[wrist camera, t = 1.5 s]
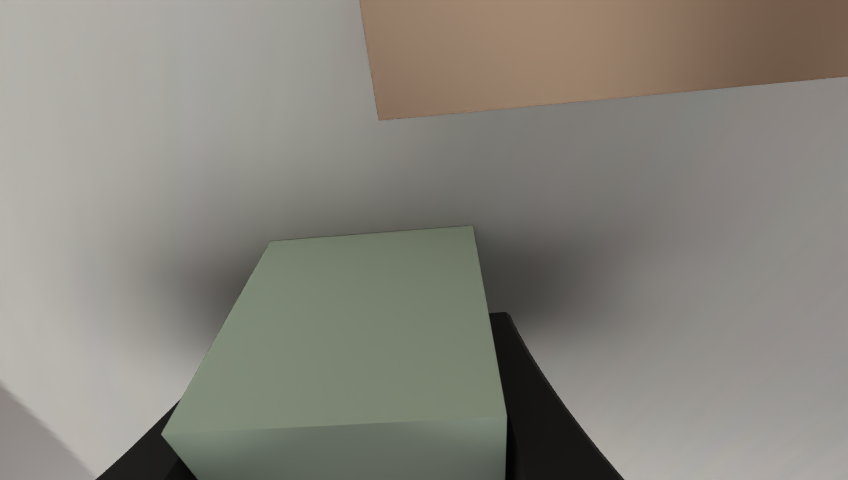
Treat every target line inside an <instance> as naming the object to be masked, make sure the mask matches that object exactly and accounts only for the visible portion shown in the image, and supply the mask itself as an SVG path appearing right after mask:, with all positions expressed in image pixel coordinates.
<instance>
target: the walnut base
mask: <svg viewBox="0 0 848 480" xmlns="http://www.w3.org/2000/svg"><path fill="white" fill-rule="evenodd" d="M360 7H361V13H362V19H363V26H364V32H365V38H366V44H367V51H368V57H369V63H370V70H371V76H372V82H373V88H374V95H375V101H376V107H377V114H378V120H390V119H401V118H411V117H422V116H432V115H443V114H454V113H464V112H475V111H485V110H496V109H507V108H517V107H528V106H539V105H549V104H560V103H570V102H581V101H592V100H602V99H613V98H623V97H634V96H645V95H655V94H666V93H676V92H687V91H698V90H708V89H719V88H729V87H740V86H751V85H761V84H772V83H783V82H793V81H804V80H814V79H825V78H836V77H846V76H848V0H360Z"/></svg>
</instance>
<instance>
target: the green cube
mask: <svg viewBox="0 0 848 480" xmlns="http://www.w3.org/2000/svg"><path fill="white" fill-rule="evenodd" d="M506 433H507V414H506V408H505V402H504V397H503V391H502V386H501V380H500V375H499V369H498V363H497V358H496V352H495V347H494V341H493V336H492V330H491V324H490V319H489V313H488V308H487V302H486V297H485V291H484V285H483V280H482V274H481V269H480V263H479V258H478V252H477V246H476V241H475V235H474V230H473V225H471V226H458V227H445V228H433V229H420V230H407V231H394V232H382V233H369V234H356V235H343V236H331V237H318V238H305V239H292V240H280V241H270V243H269V244H268V246H267V248H266V250H265V251H264V253H263V255H262V257H261V259H260V260H259V262H258V264H257V266H256V267H255V269H254V271H253V273H252V274H251V276H250V278H249V280H248V282H247V283H246V285H245V287H244V289H243V290H242V292H241V294H240V296H239V297H238V299H237V301H236V303H235V304H234V306H233V308H232V310H231V312H230V313H229V315H228V317H227V319H226V320H225V322H224V324H223V326H222V327H221V329H220V331H219V333H218V335H217V336H216V338H215V340H214V342H213V343H212V345H211V347H210V349H209V350H208V352H207V354H206V356H205V357H204V359H203V361H202V363H201V365H200V366H199V368H198V370H197V372H196V373H195V375H194V377H193V379H192V380H191V382H190V384H189V386H188V388H187V389H186V391H185V393H184V395H183V396H182V398H181V400H180V402H179V403H178V405H177V407H176V409H175V410H174V412H173V414H172V416H171V418H170V419H169V421H168V423H167V425H166V426H165V428H164V430H163V432H162V433H161V435H162V436H163V437H164V438H165V440H166V441H167V442H168V443H169V445H170V446H171V447H172V448H173V449H174V451H175V452H176V453H177V454H178V456H179V457H180V458H181V459H182V461H183V462H184V463H185V464H186V465H187V467H188V468H189V469H190V470H191V472H192V473H193V474H194V475H195V477H196V478H197V479H198V480H505V464H506Z"/></svg>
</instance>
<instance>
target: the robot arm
mask: <svg viewBox="0 0 848 480" xmlns="http://www.w3.org/2000/svg"><path fill="white" fill-rule="evenodd" d="M489 319H490V324H491V330H492V336H493V341H494V347H495V352H496V358H497V363H498V369H499V375H500V380H501V386H502V391H503V397H504V402H505V408H506V414H507V433H506V464H505V480H624V479H623V478H622V476H621V475H620V474H619V473H618V472H617V471H616V469H615V468H614V467H613V466H612V465H611V464H610V462H609V461H608V460H607V459H606V458H605V456H604V455H603V454H602V453H601V452H600V450H599V449H598V448H597V447H596V445H595V444H594V443H593V442H592V440H591V439H590V438H589V437H588V435H587V434H586V433H585V432H584V430H583V429H582V428H581V426H580V425H579V424H578V422H577V421H576V420H575V418H574V417H573V416H572V414H571V413H570V412H569V410H568V409H567V408H566V406H565V405H564V403H563V402H562V401H561V399H560V398H559V396H558V395H557V394H556V392H555V391H554V389H553V388H552V386H551V385H550V383H549V382H548V380H547V379H546V377H545V376H544V374H543V373H542V371H541V370H540V368H539V367H538V365H537V363H536V362H535V360H534V359H533V357H532V355H531V354H530V352H529V350H528V349H527V347H526V345H525V343H524V342H523V340H522V338H521V336H520V334H519V333H518V331H517V329H516V327H515V325H514V323H513V320H512V318H511V316H510V315H509V314H508V313H506V312H499V313H489ZM180 400H181V399H180ZM180 400H179V401H178V402H177V403H176V404H175V405H174V406H173V407H172V408H171V409H170V410H169V411H168V412H167V413H166V414H165V415H164V416H163V417H162V418H161V419H160V420H159V421H158V422H157V423H156V424H155V425H154V426H153V427H152V428H151V429H150V430H149V431H148V432H147V433H146V434H145V435H144V436H143V437H142V438H141V439H140V440H139V441H138V442H136V443H135V444H134V445H133V446H132V447H131V448H130V449H129V450H128V451H127V452H126V453H125V454H124V455H123V456H122V457H121V458H120V459H118V460H117V461H116V462H115V463H114V464H113V465H112V466H111V467H110V468H108V469H107V470H106V471H105V472H104V473H103V474H102V475H101V476H99V477H98V478H97V479H96V480H198V479H197V478H196V477H195V475H194V474H193V473H192V472H191V470H190V469H189V468H188V467H187V465H186V464H185V463H184V462H183V461H182V459H181V458H180V457H179V456H178V454H177V453H176V452H175V451H174V449H173V448H172V447H171V446H170V445H169V443H168V442H167V441H166V440H165V438H164V437H163V436H162V435H161V433H162V432H163V430H164V428H165V426H166V425H167V423H168V421H169V419H170V418H171V416H172V414H173V412H174V410H175V409H176V407H177V405H178V403H179V402H180Z"/></svg>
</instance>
